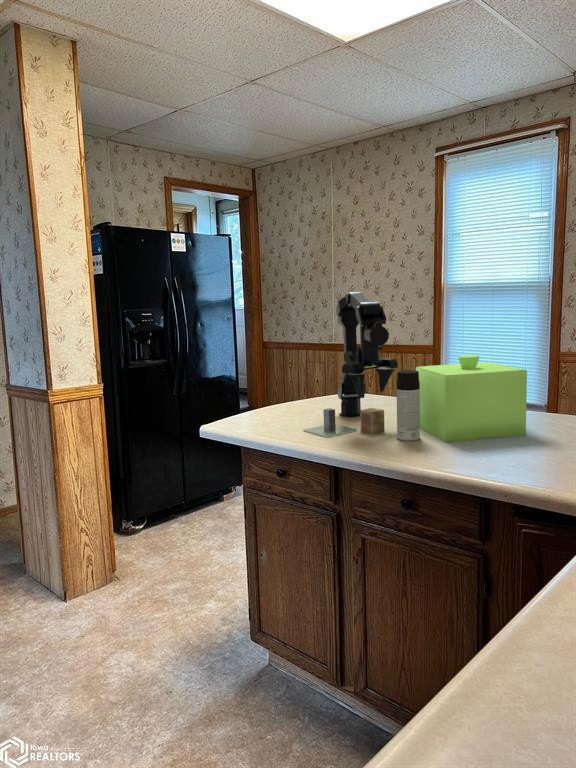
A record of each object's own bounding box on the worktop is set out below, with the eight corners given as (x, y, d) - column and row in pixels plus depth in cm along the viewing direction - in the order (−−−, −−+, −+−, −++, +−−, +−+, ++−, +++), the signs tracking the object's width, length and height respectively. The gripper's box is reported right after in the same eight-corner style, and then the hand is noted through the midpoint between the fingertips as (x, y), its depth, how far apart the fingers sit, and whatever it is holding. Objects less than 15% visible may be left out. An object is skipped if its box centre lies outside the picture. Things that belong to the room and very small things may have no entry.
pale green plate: (332, 424, 192) (331, 404, 191) (356, 430, 182) (356, 409, 181) (303, 431, 185) (302, 409, 184) (327, 437, 175) (326, 415, 174)
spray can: (421, 436, 172) (420, 369, 169) (418, 442, 166) (418, 373, 163) (398, 435, 174) (397, 369, 171) (395, 441, 168) (394, 372, 165)
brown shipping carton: (372, 428, 184) (372, 407, 183) (384, 431, 180) (384, 409, 179) (360, 431, 181) (360, 410, 180) (372, 434, 177) (371, 412, 176)
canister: (445, 442, 164) (444, 361, 161) (416, 426, 185) (415, 354, 182) (525, 435, 168) (527, 356, 165) (488, 420, 189) (489, 350, 186)
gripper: (373, 339, 188) (374, 387, 191) (329, 344, 178) (331, 394, 180) (398, 341, 179) (399, 390, 182) (353, 346, 169) (355, 398, 171)
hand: (370, 393), depth 179 cm, fingers open, 9 cm apart
